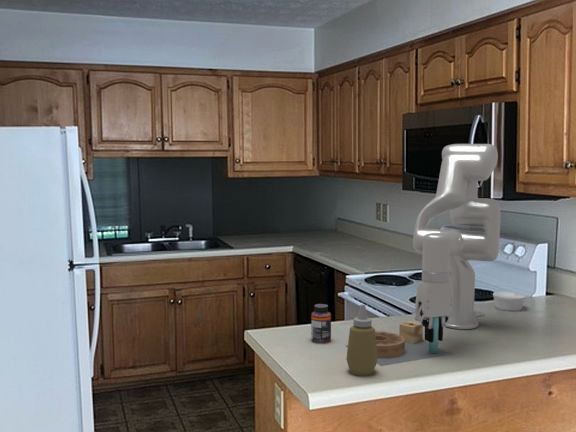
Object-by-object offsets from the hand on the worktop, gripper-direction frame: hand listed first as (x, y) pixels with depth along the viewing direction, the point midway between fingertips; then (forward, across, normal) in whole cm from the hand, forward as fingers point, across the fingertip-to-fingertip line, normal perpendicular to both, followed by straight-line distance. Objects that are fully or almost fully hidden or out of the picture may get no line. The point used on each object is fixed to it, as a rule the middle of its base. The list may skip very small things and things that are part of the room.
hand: (433, 339), depth 177 cm
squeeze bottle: (+4, +27, +5) cm, 28 cm away
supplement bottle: (+4, +24, -23) cm, 34 cm away
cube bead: (+4, -1, -12) cm, 13 cm away
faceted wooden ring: (+4, +13, -8) cm, 16 cm away
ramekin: (+4, -59, -31) cm, 67 cm away
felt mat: (+4, +8, -6) cm, 11 cm away
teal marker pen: (+4, 0, 0) cm, 4 cm away
